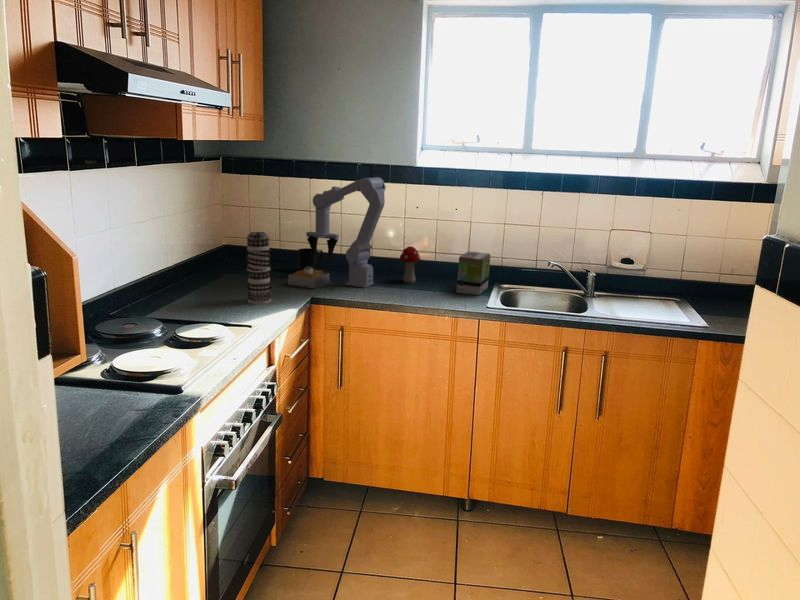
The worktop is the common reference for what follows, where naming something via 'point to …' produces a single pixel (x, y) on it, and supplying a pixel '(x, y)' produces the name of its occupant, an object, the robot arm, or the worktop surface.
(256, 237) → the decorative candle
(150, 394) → the worktop surface
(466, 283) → the tea box
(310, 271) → the canister
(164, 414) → the worktop surface
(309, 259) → the mug
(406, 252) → the decorative mushroom
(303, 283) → the housing
